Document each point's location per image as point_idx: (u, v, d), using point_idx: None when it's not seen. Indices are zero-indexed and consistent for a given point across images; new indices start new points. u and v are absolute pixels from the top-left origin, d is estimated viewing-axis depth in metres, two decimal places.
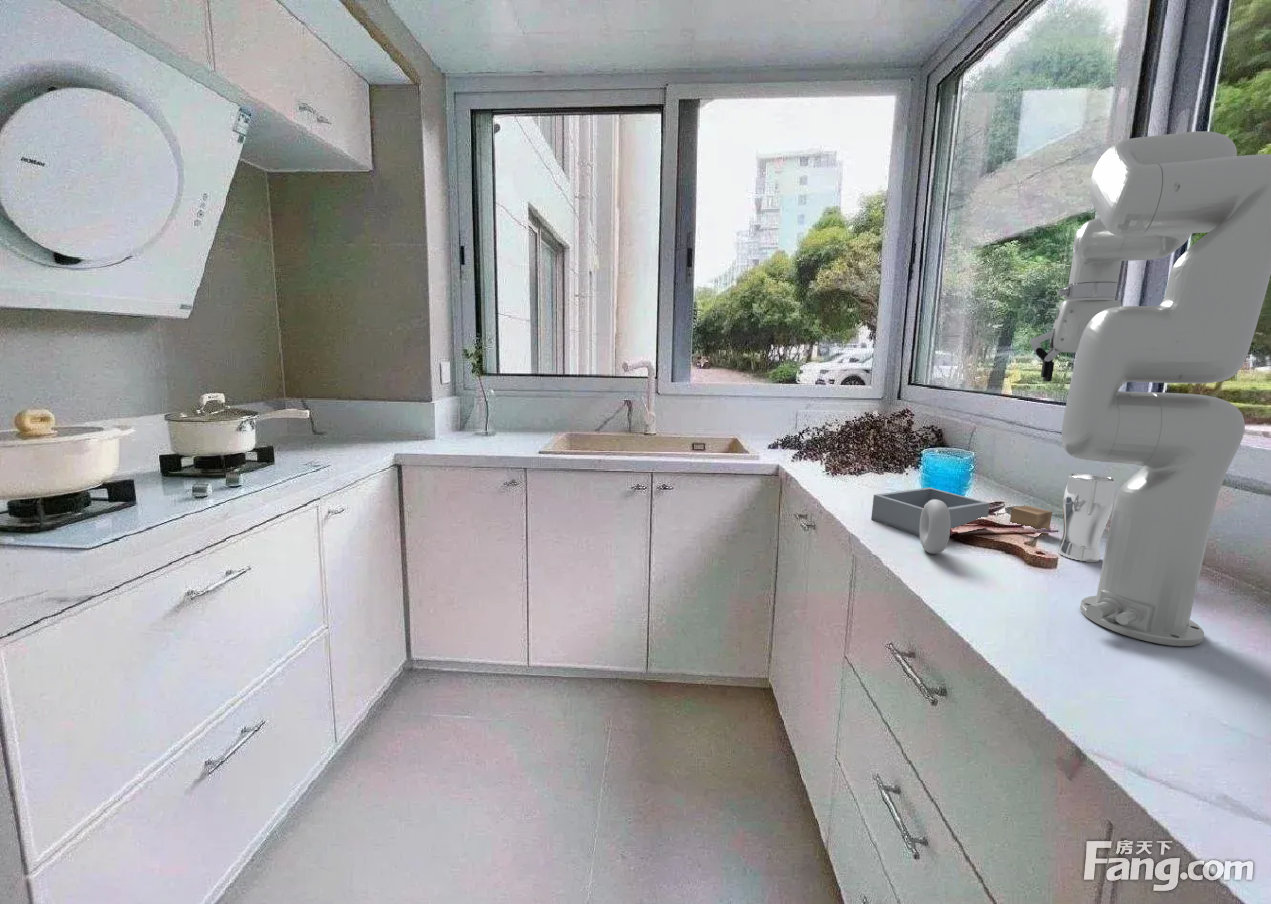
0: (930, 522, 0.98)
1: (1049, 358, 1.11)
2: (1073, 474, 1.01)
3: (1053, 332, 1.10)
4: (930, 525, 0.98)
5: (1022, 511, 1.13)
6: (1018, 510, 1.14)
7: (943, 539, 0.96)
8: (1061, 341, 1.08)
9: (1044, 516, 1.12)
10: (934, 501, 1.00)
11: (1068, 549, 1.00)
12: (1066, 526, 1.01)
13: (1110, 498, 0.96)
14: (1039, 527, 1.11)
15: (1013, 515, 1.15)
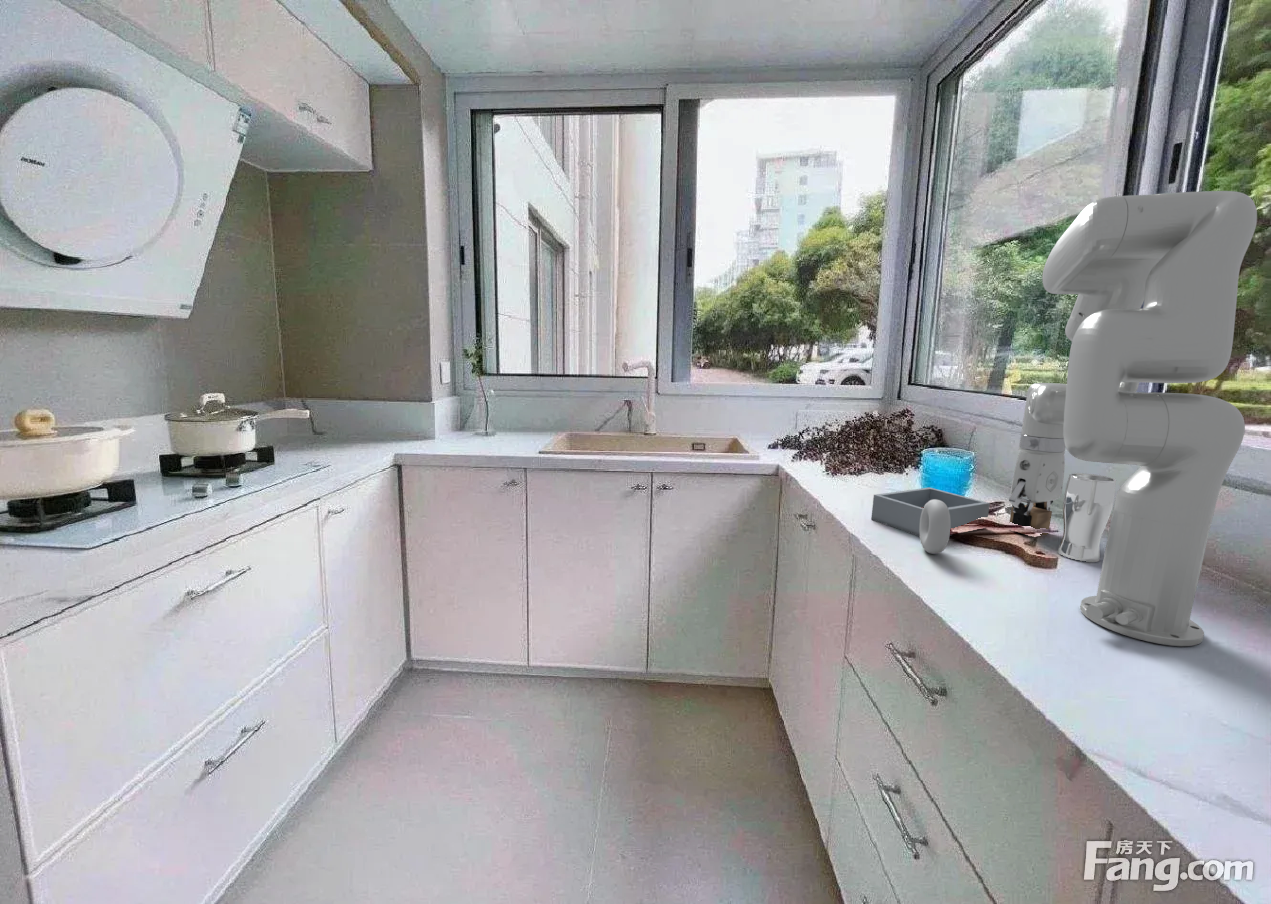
0: (930, 522, 0.98)
1: (1028, 512, 1.11)
2: (1073, 474, 1.01)
3: (1025, 486, 1.10)
4: (930, 525, 0.98)
5: None
6: None
7: (943, 539, 0.96)
8: (1036, 493, 1.09)
9: (1044, 515, 1.12)
10: (934, 501, 1.00)
11: (1068, 549, 1.00)
12: (1066, 526, 1.01)
13: (1110, 498, 0.96)
14: (1039, 527, 1.12)
15: None
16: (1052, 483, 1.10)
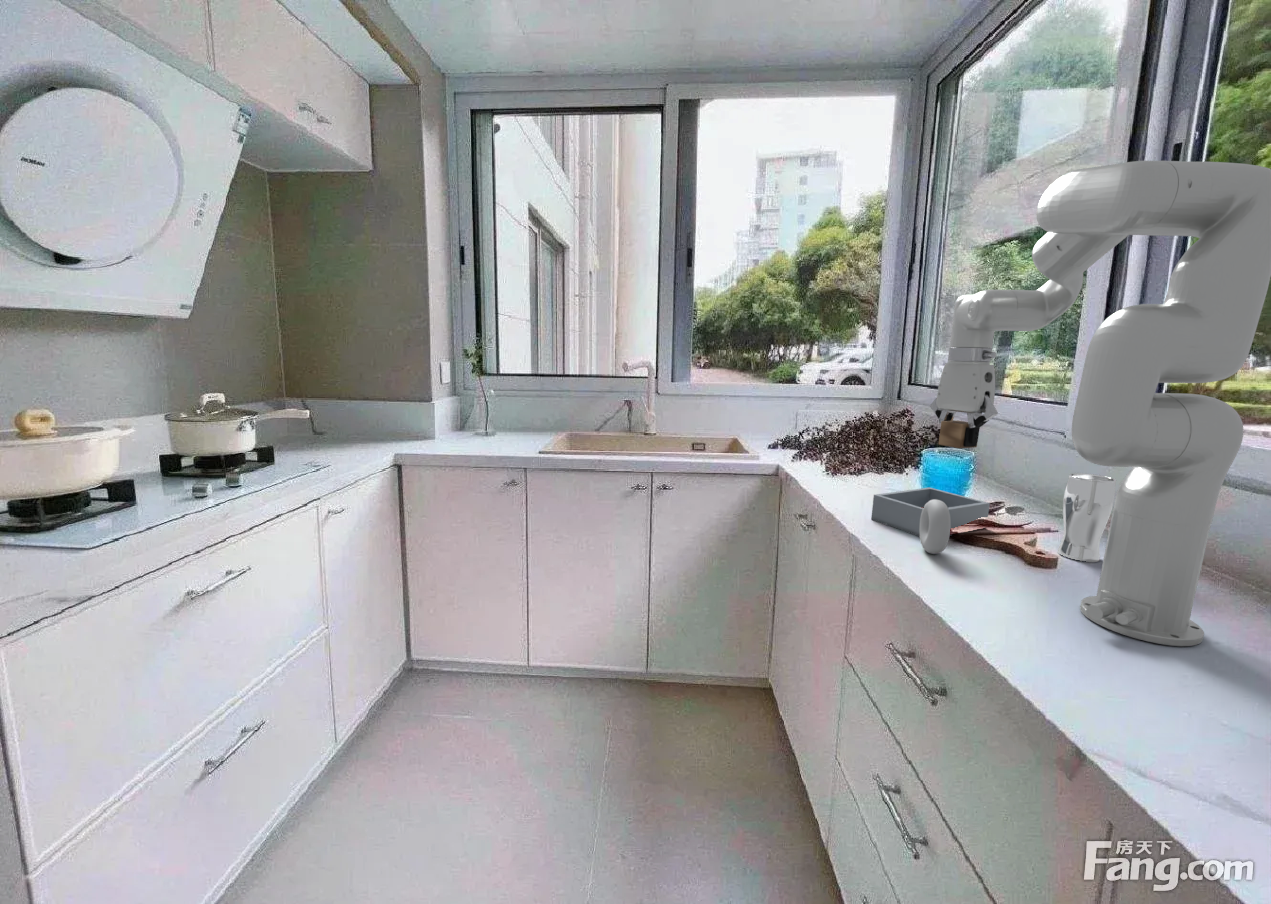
0: (930, 522, 0.98)
1: None
2: (1073, 474, 1.01)
3: None
4: (930, 525, 0.98)
5: None
6: (967, 425, 1.13)
7: (943, 539, 0.96)
8: None
9: None
10: (934, 501, 1.00)
11: (1068, 549, 1.00)
12: (1066, 526, 1.01)
13: (1110, 498, 0.96)
14: None
15: (963, 431, 1.13)
16: None
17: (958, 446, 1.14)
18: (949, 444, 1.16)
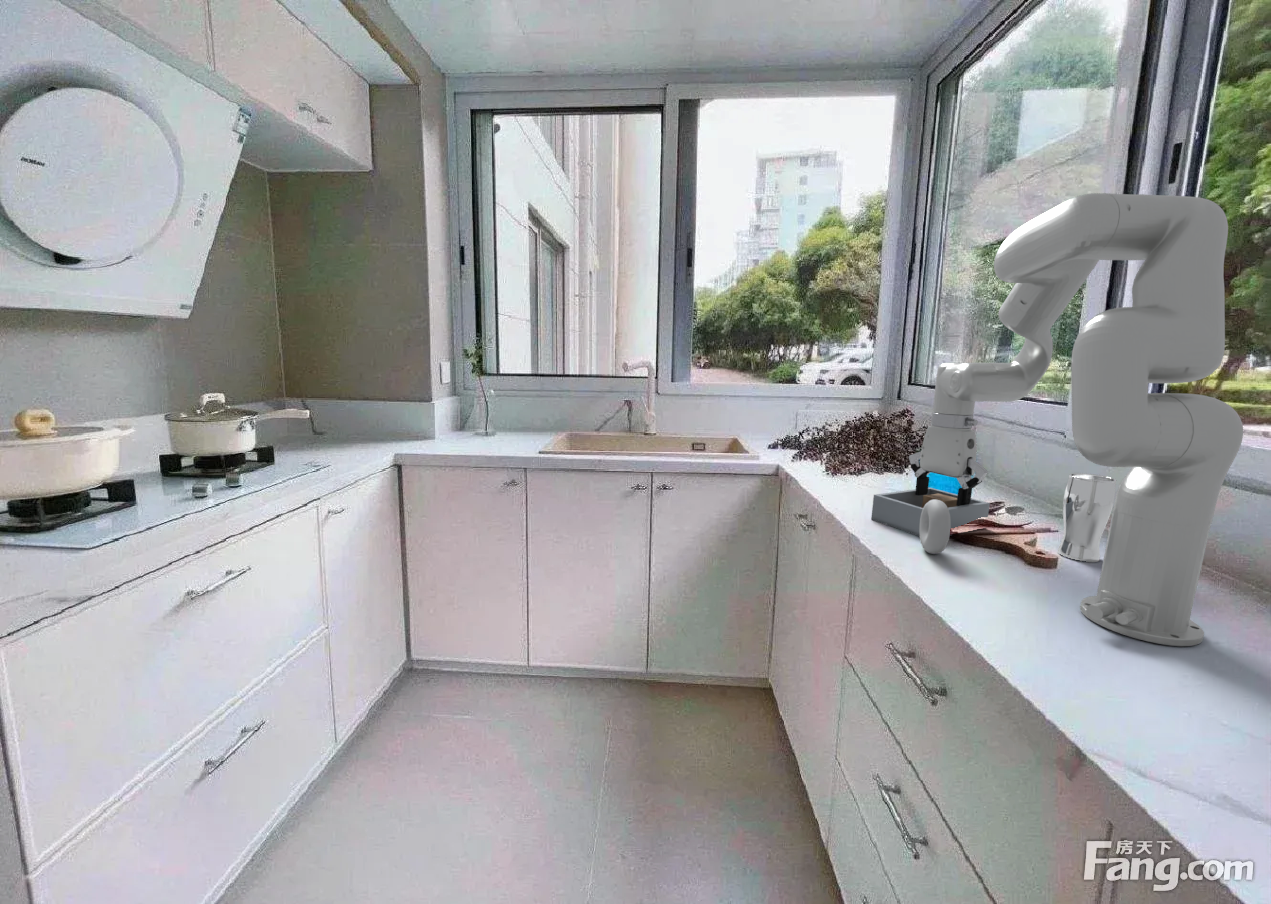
0: (930, 522, 0.98)
1: None
2: (1073, 474, 1.01)
3: None
4: (930, 525, 0.98)
5: (951, 501, 1.17)
6: (948, 501, 1.17)
7: (943, 539, 0.96)
8: None
9: None
10: (934, 501, 1.00)
11: (1068, 549, 1.00)
12: (1066, 526, 1.01)
13: (1110, 498, 0.96)
14: None
15: None
16: None
17: None
18: None
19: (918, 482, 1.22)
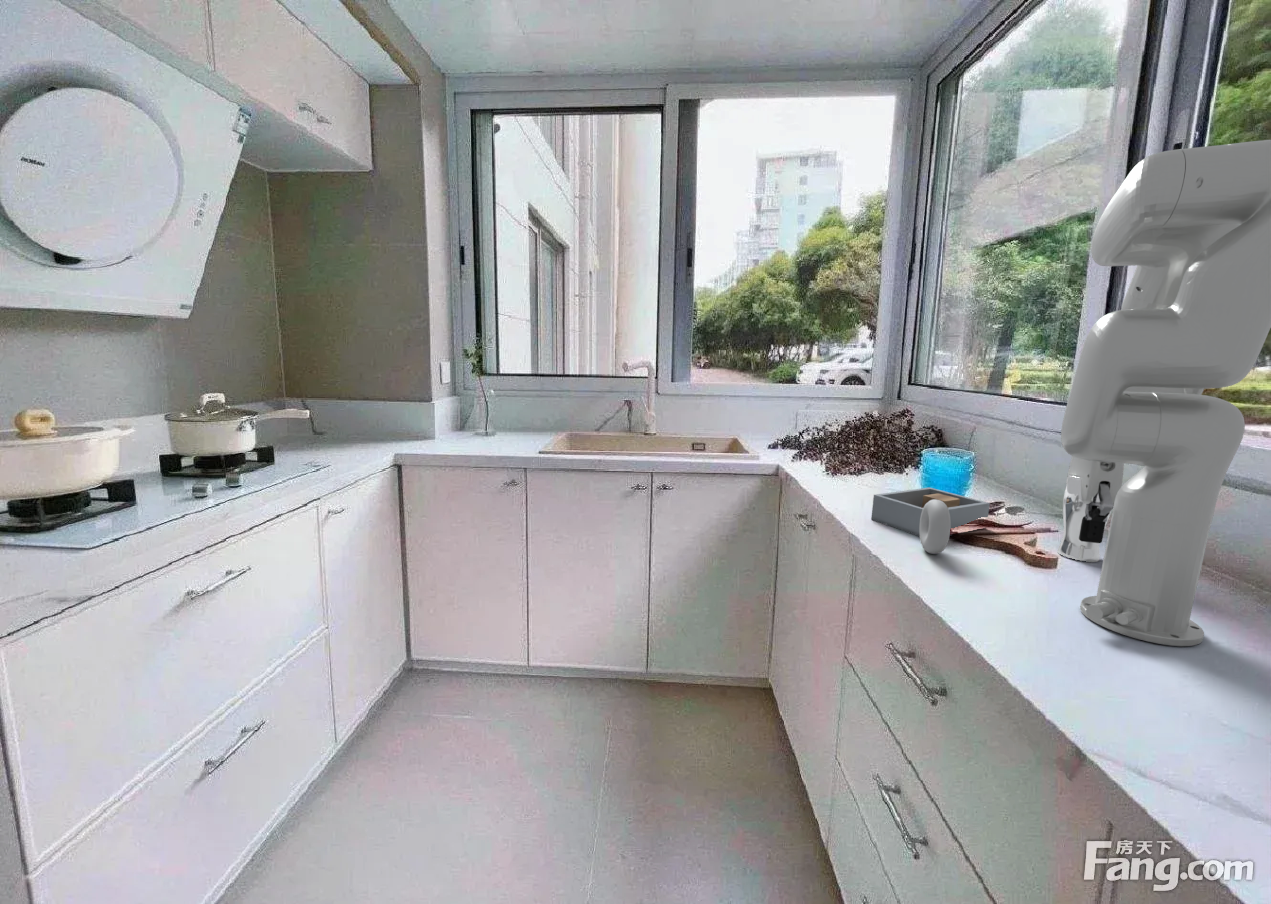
0: (930, 522, 0.98)
1: None
2: None
3: (1108, 488, 0.94)
4: (930, 525, 0.98)
5: (951, 501, 1.17)
6: (948, 501, 1.17)
7: (943, 539, 0.96)
8: None
9: None
10: (934, 501, 1.00)
11: (1068, 549, 1.00)
12: (1066, 526, 1.01)
13: None
14: None
15: None
16: None
17: None
18: None
19: None
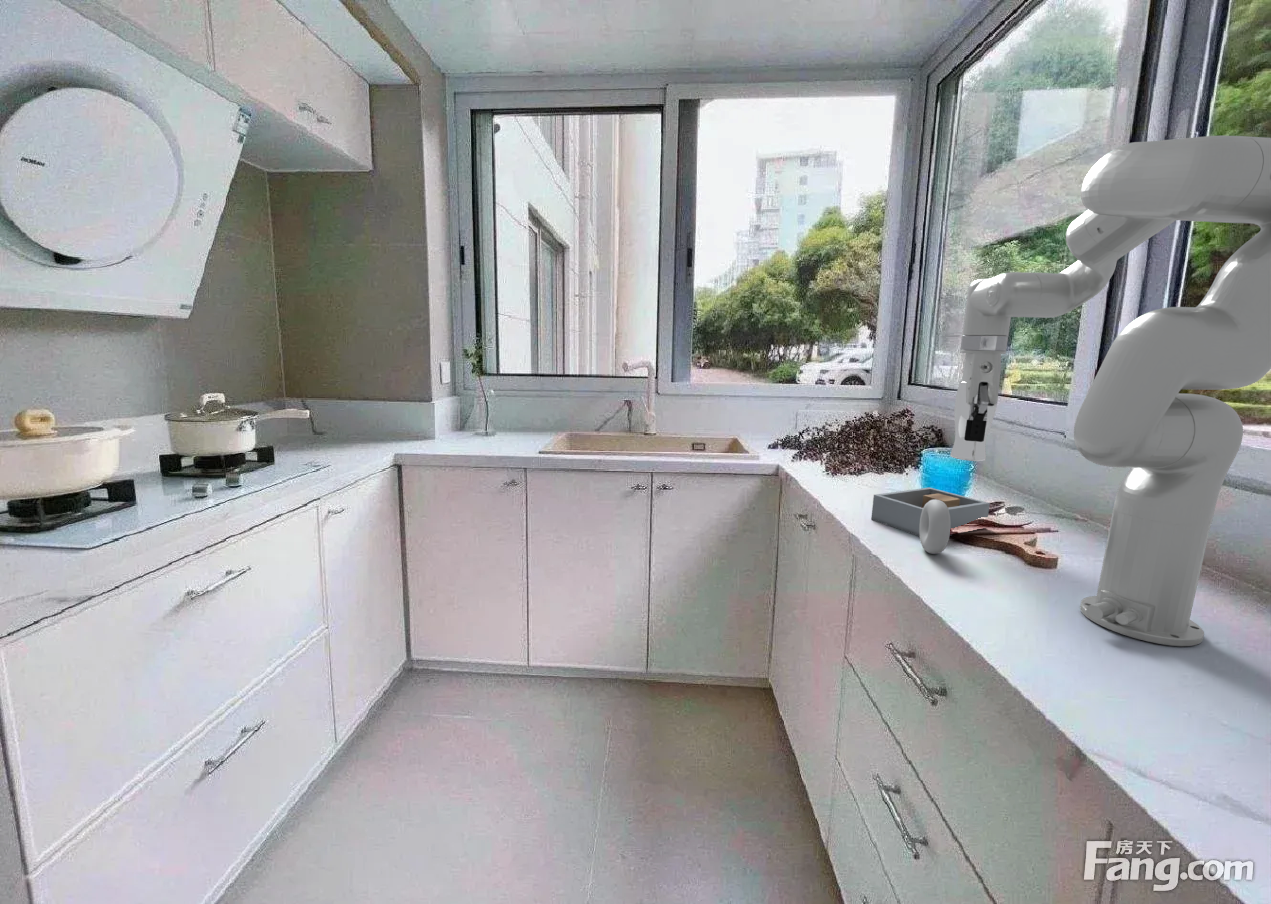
0: (930, 522, 0.98)
1: None
2: None
3: (987, 388, 1.02)
4: (930, 525, 0.98)
5: (951, 501, 1.17)
6: (948, 501, 1.17)
7: (943, 539, 0.96)
8: None
9: None
10: (934, 501, 1.00)
11: (957, 450, 1.09)
12: (956, 429, 1.09)
13: None
14: None
15: None
16: None
17: None
18: None
19: None
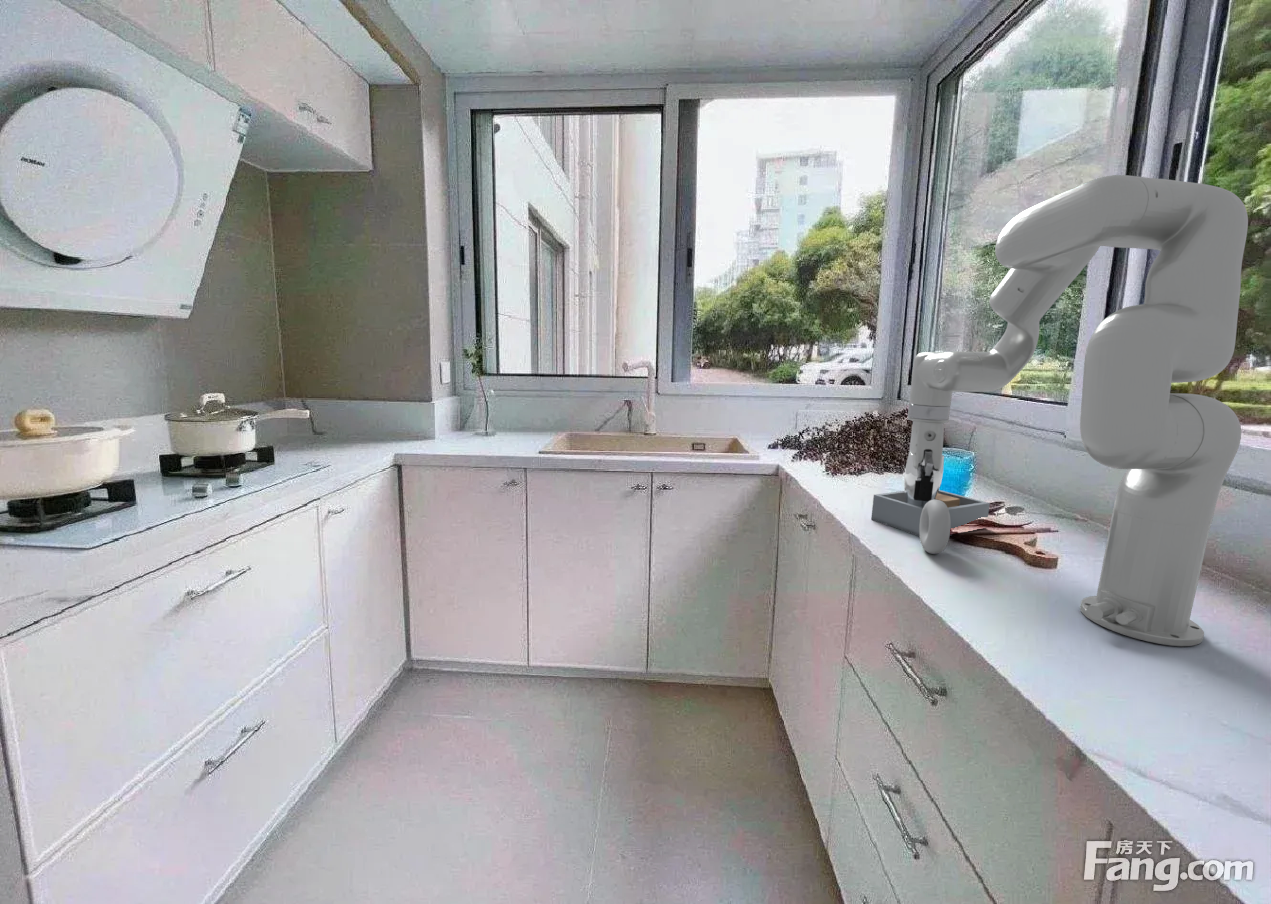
0: (930, 522, 0.98)
1: None
2: None
3: (931, 453, 1.09)
4: (930, 525, 0.98)
5: (951, 501, 1.17)
6: (948, 501, 1.17)
7: (943, 539, 0.96)
8: None
9: None
10: (934, 501, 1.00)
11: None
12: (905, 496, 1.16)
13: (937, 472, 1.11)
14: None
15: None
16: None
17: None
18: None
19: None
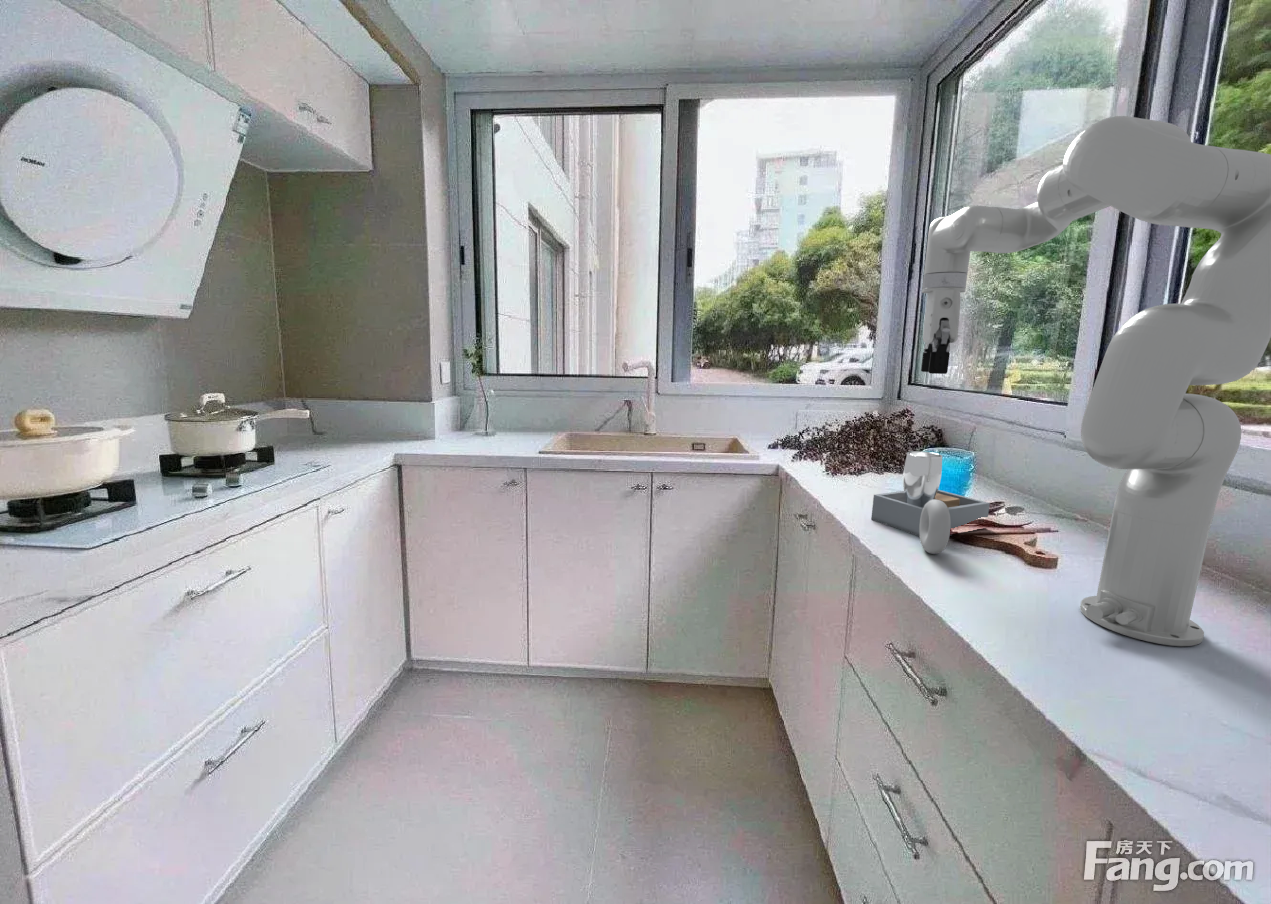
0: (930, 522, 0.98)
1: None
2: (912, 452, 1.17)
3: (948, 321, 1.04)
4: (930, 525, 0.98)
5: (951, 501, 1.17)
6: (948, 501, 1.17)
7: (943, 539, 0.96)
8: None
9: None
10: (934, 501, 1.00)
11: None
12: (905, 497, 1.16)
13: (936, 472, 1.11)
14: None
15: None
16: None
17: None
18: None
19: (922, 357, 1.15)
